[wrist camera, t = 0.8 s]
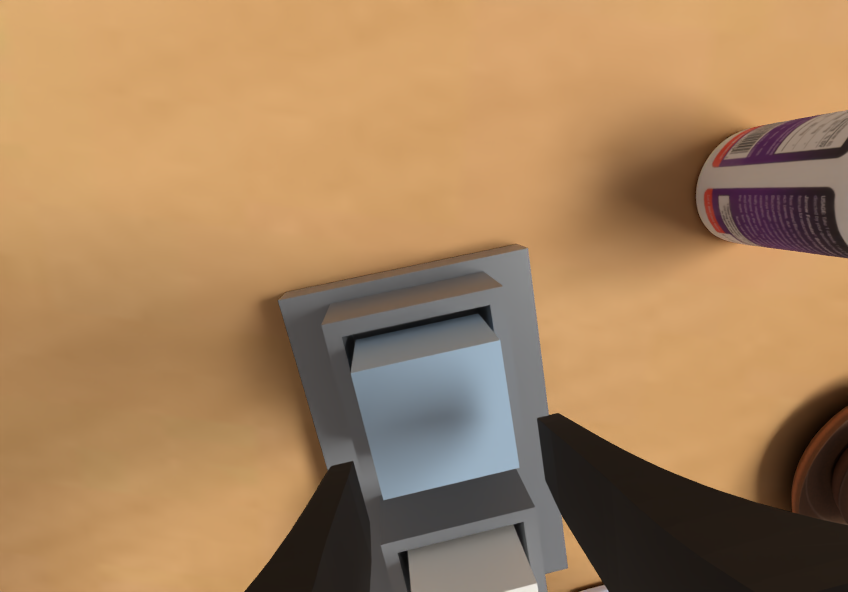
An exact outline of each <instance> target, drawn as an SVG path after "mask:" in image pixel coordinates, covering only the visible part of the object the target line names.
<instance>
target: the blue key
mask: <svg viewBox="0 0 848 592" xmlns="http://www.w3.org/2000/svg"><path fill="white" fill-rule="evenodd" d="M351 377H352V381H353V384H354V388H355V392H356V396H357V400H358V404H359V408H360V412H361V415H362V419H363V423H364V427H365V431H366V435H367V439H368V443H369V446H370V450H371V454H372V458H373V462H374V466H375V470H376V474H377V477H378V481H379V485H380V489H381V493H382V497H383V500H387V499H391V498H395V497H399V496H403V495H408V494H412V493H416V492H420V491H424V490H428V489H433V488H437V487H441V486H445V485H449V484H454V483H458V482H462V481H466V480H470V479H474V478H479V477H483V476H487V475H491V474H495V473H500V472H504V471H508V470H512V469H516V468H519V461H518V454H517V448H516V441H515V435H514V428H513V421H512V415H511V408H510V402H509V395H508V388H507V382H506V375H505V369H504V362H503V355H502V349H501V342H500V339H499V338H498V337H497V336H496V334H495V333H494V332H493V331H492V330H491V328H490V327H489V326H488V325H487V323H486V322H485V321H484V320H483V319H482V317H481V316H480V315H479V314H473V315H468V316H464V317H459V318H455V319H450V320H445V321H441V322H436V323H431V324H427V325H422V326H418V327H413V328H408V329H404V330H399V331H395V332H390V333H385V334H381V335H376V336H371V337H367V338H362V339H358V340H356V341H355V347H354V354H353V361H352V367H351Z"/></svg>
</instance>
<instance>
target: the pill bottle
mask: <svg viewBox="0 0 848 592" xmlns="http://www.w3.org/2000/svg"><path fill="white" fill-rule="evenodd" d="M696 204H697V209H698V213H699V216H700V218H701V220H702V222H703V223H704V225H705V226H706V227H707V229H708V230H709V231H710V232H711V233H713V234H714V235H715V236H717V237H719V238H721V239H723V240H726V241H729V242H734V243H739V244H745V245H752V246H760V247H768V248H776V249H783V250H791V251H798V252H806V253H812V254H820V255H827V256H835V257H842V258H848V110H846V111H840V112H834V113H829V114H823V115H817V116H812V117H806V118H801V119H795V120H790V121H785V122H778V123H773V124H768V125H762V126H758V127H754V128H749V129H746V130H743V131H740V132H738V133H736V134H734V135H732V136H730V137H729V138H727V139H726V140H724V141H723V142H722V143H720V144H719V145H718V146H717V147H716V148H715V149H714V150H713V152H712V153H711V154H710V156H709V157H708V159H707V160H706V162H705V164H704V166H703V168H702V170H701V172H700V175H699V178H698V183H697V188H696Z"/></svg>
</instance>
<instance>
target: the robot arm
mask: <svg viewBox="0 0 848 592" xmlns="http://www.w3.org/2000/svg"><path fill="white" fill-rule="evenodd" d="M537 423H538V431H539V438H540V446H541V453H542V461H543V468H544V476H545V481H546V483H547V485H548V487H549V490H550V492H551V494H552V496H553V498H554V501H555V503H556V505H557V507H558V509H559V511H560V513H561V515H562V517H563V518H564V520H565V522H566V523H567V525H568V527H569V528H570V530H571V531H572V533H573V535H574V536H575V538H576V540H577V541H578V543H579V545H580V546H581V548H582V549H583V551H584V553H585V554H586V556H587V557H588V559H589V561H590V562H591V564H592V565H593V567H594V569H595V570H596V572H597V573H598V575H599V577H600V578H601V580H602V582H603V583H604V585H602V586H598V587H594V588H590V589H586V590H582V591H579V592H848V525H845V524H840V523H835V522H830V521H826V520H821V519H817V518H813V517H809V516H805V515H801V514H797V513H793V512H789V511H785V510H781V509H778V508H774V507H770V506H767V505H763V504H760V503H756V502H753V501H750V500H747V499H744V498H740V497H737V496H734V495H731V494H728V493H725V492H722V491H719V490H716V489H713V488H710V487H708V486H705V485H702V484H699V483H697V482H694V481H692V480H689V479H687V478H684V477H682V476H679V475H677V474H674V473H672V472H669V471H667V470H665V469H663V468H660V467H658V466H656V465H654V464H652V463H650V462H648V461H645V460H643V459H641V458H639V457H637V456H635V455H633V454H631V453H629V452H627V451H625V450H623V449H621V448H619V447H617V446H616V445H614V444H612V443H610V442H608V441H606V440H604V439H603V438H601V437H599V436H597V435H596V434H594V433H592V432H590V431H589V430H587V429H585V428H583V427H582V426H580V425H578V424H576V423H575V422H573V421H571V420H570V419H568V418H566V417H564V416H562V415H561V414H559V413H556V414H552V415H548V416H543V417H539V418H537ZM371 564H372V556H371V531H370V520H369V517H368V513H367V509H366V506H365V502H364V498H363V495H362V491H361V487H360V484H359V480H358V476H357V473H356V469H355V465H354V462H353V461H350V462H346V463H341V464H337V465H333V466H331V467H330V468H329V470H328V471H327V473H326V474H325V476H324V478H323V479H322V481H321V483H320V485H319V486H318V488H317V490H316V491H315V493H314V495H313V496H312V498H311V500H310V501H309V503H308V504H307V506H306V508H305V509H304V511H303V512H302V514H301V515H300V517H299V519H298V520H297V522H296V523H295V525H294V526H293V528H292V529H291V531H290V532H289V534H288V535H287V537H286V538H285V539H284V541H283V542H282V544H281V545H280V547H279V548H278V549H277V551H276V552H275V554H274V555H273V556H272V558H271V559H270V561H269V562H268V563H267V564H266V566H265V567H264V568H263V570H262V571H261V572H260V573H259V575H258V576H257V577H256V578H255V580H254V581H253V582H252V583H251V584H250V585H249V587H248V588H247V589H246V590H245V591H244V592H370V580H371Z"/></svg>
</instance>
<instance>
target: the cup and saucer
mask: <svg viewBox="0 0 848 592" xmlns="http://www.w3.org/2000/svg"><path fill="white" fill-rule="evenodd" d="M791 502H792V512H793V513H797V514H801V515H805V516H809V517H813V518H817V519H821V520H826V521H830V522H835V523H840V524H845V525H848V406H847V407H845V408H844V409H842V410H841V411H840V412H838V413H837V414H836V415H835V416H833V417H832V418H831V419H830V420H829V421H828V422H827V423H826V424H825V425H824V426H823V427H822V428H821V429H820V430H819V431H818V432H817V434H816V435H815V436H814V437H813V439H812V440H811V442H810V443H809V444H808V446H807V448H806V449H805V451H804V453H803V455H802V457H801V459H800V461H799V463H798V466H797V468H796V471H795V475H794V478H793V483H792V492H791Z"/></svg>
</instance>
